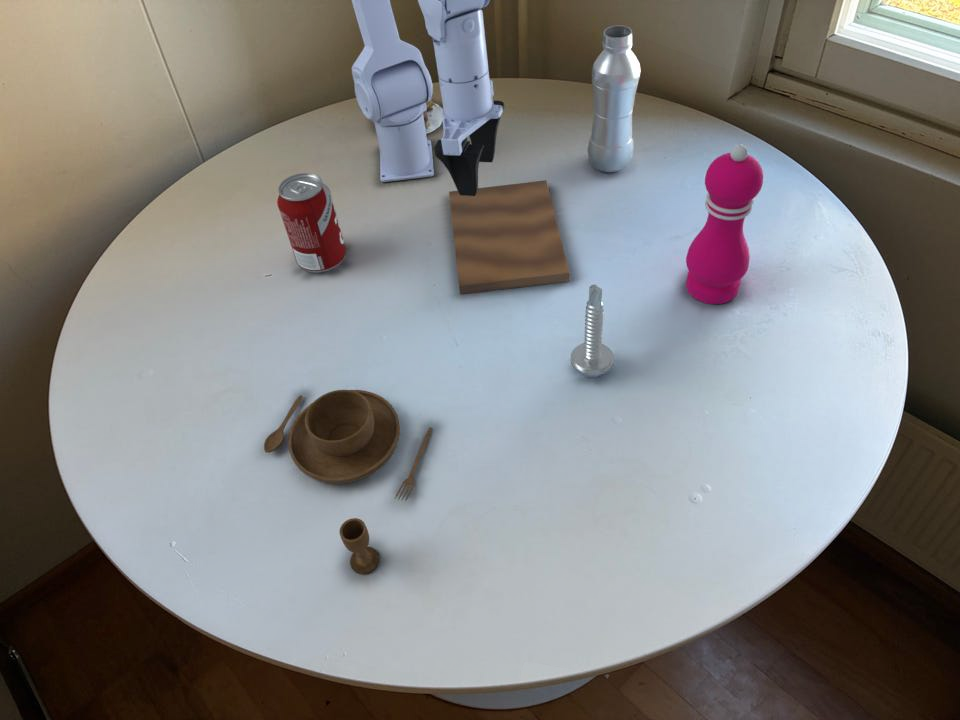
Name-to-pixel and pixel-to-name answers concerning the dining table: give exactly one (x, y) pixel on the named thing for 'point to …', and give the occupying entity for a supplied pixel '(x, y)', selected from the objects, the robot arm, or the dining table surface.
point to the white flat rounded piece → (432, 116)
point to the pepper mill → (724, 228)
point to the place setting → (346, 451)
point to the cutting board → (507, 238)
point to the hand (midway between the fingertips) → (476, 177)
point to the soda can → (311, 222)
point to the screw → (593, 340)
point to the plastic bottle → (613, 101)
